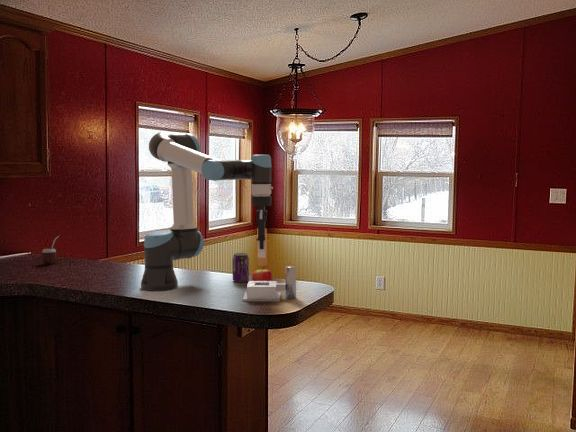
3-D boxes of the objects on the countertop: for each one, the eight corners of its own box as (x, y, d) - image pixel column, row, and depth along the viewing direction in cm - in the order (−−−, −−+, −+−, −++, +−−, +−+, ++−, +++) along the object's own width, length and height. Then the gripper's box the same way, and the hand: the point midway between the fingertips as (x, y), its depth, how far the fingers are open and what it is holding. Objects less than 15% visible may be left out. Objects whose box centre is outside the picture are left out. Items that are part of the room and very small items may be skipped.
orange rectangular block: (257, 265, 228) (256, 229, 227) (257, 264, 232) (257, 228, 231) (266, 265, 228) (266, 229, 227) (267, 264, 232) (266, 228, 231)
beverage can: (246, 283, 260) (246, 255, 259) (230, 282, 262) (230, 255, 260) (250, 279, 267) (250, 253, 266) (235, 279, 268) (235, 252, 267)
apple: (264, 290, 245) (264, 266, 244) (247, 288, 249) (247, 264, 248) (275, 287, 252) (275, 263, 251) (259, 285, 256) (259, 261, 255)
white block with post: (242, 301, 225) (242, 269, 224) (245, 294, 237) (244, 264, 236) (296, 301, 225) (296, 269, 224) (295, 294, 237) (295, 264, 236)
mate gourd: (40, 264, 310) (38, 235, 309) (55, 262, 315) (54, 234, 314) (45, 266, 304) (44, 236, 303) (61, 264, 310) (60, 235, 308)
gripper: (270, 196, 220) (271, 260, 222) (272, 194, 236) (272, 253, 238) (250, 196, 220) (250, 260, 222) (253, 194, 236) (253, 253, 238)
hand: (262, 256), depth 230 cm, fingers closed on orange rectangular block, 3 cm apart
